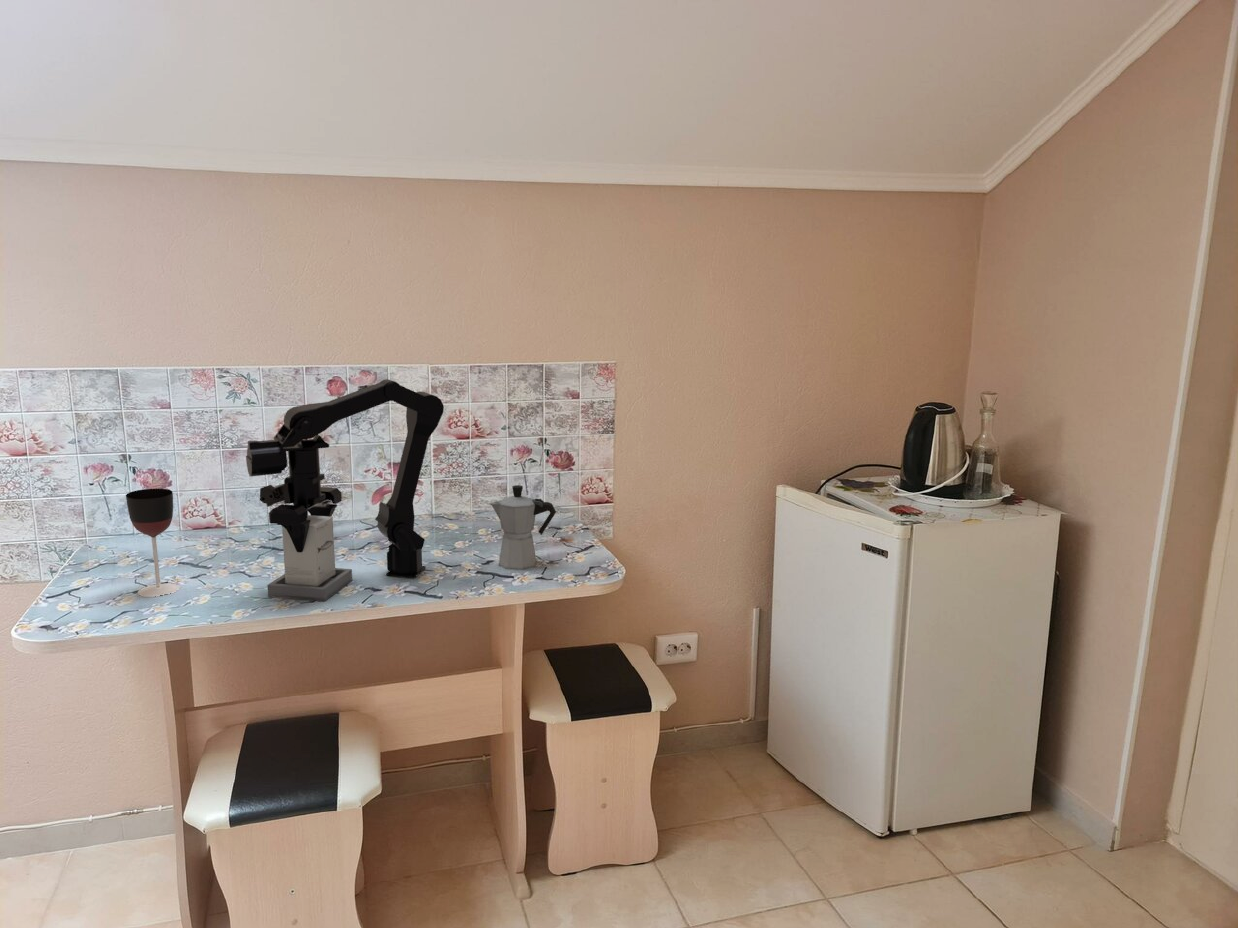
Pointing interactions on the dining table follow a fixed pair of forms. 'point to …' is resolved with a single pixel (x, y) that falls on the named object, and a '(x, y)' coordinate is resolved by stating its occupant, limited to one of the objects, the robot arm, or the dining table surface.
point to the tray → (310, 587)
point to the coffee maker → (519, 528)
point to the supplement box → (311, 554)
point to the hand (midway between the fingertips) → (309, 546)
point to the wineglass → (152, 527)
